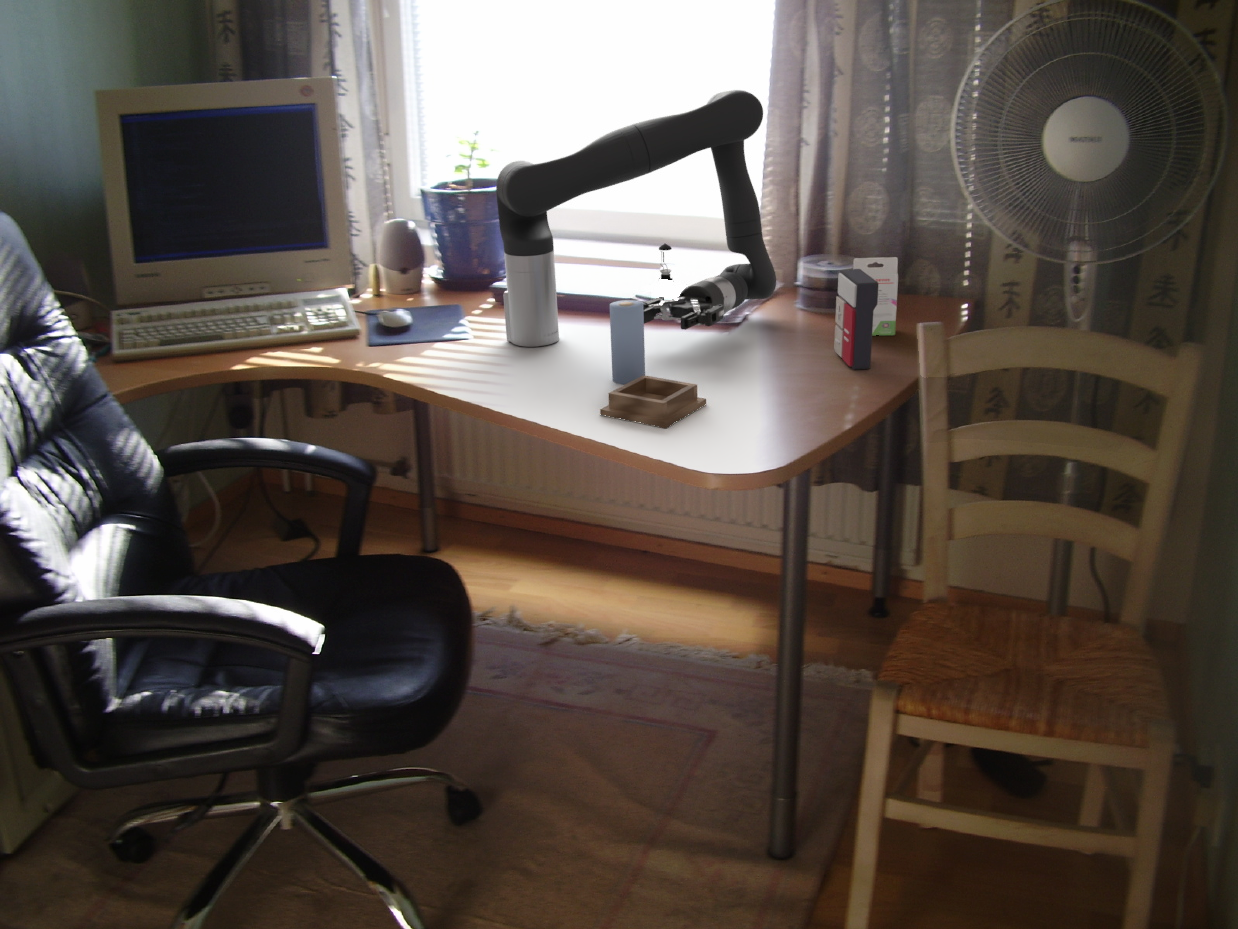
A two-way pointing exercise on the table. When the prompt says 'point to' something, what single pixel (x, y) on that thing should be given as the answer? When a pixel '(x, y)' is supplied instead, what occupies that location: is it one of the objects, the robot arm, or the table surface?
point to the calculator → (855, 317)
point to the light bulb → (665, 272)
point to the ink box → (882, 292)
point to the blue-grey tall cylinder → (627, 340)
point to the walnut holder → (653, 401)
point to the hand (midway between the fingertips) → (661, 320)
